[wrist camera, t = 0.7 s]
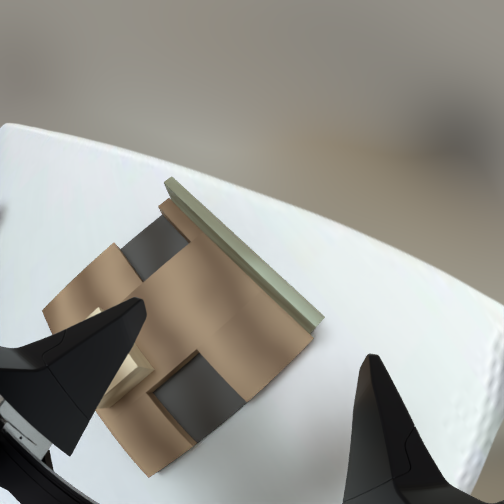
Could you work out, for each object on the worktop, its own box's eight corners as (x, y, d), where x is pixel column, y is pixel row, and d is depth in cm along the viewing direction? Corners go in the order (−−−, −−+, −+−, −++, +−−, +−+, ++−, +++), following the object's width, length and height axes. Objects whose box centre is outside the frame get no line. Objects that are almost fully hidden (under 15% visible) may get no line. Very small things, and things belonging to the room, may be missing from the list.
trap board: (156, 472, 19) (134, 487, 14) (52, 315, 26) (24, 301, 21) (317, 333, 24) (330, 321, 20) (180, 203, 31) (169, 173, 27)
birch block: (109, 408, 20) (88, 409, 17) (76, 355, 22) (54, 349, 19) (154, 369, 21) (137, 366, 18) (117, 317, 23) (98, 307, 20)
